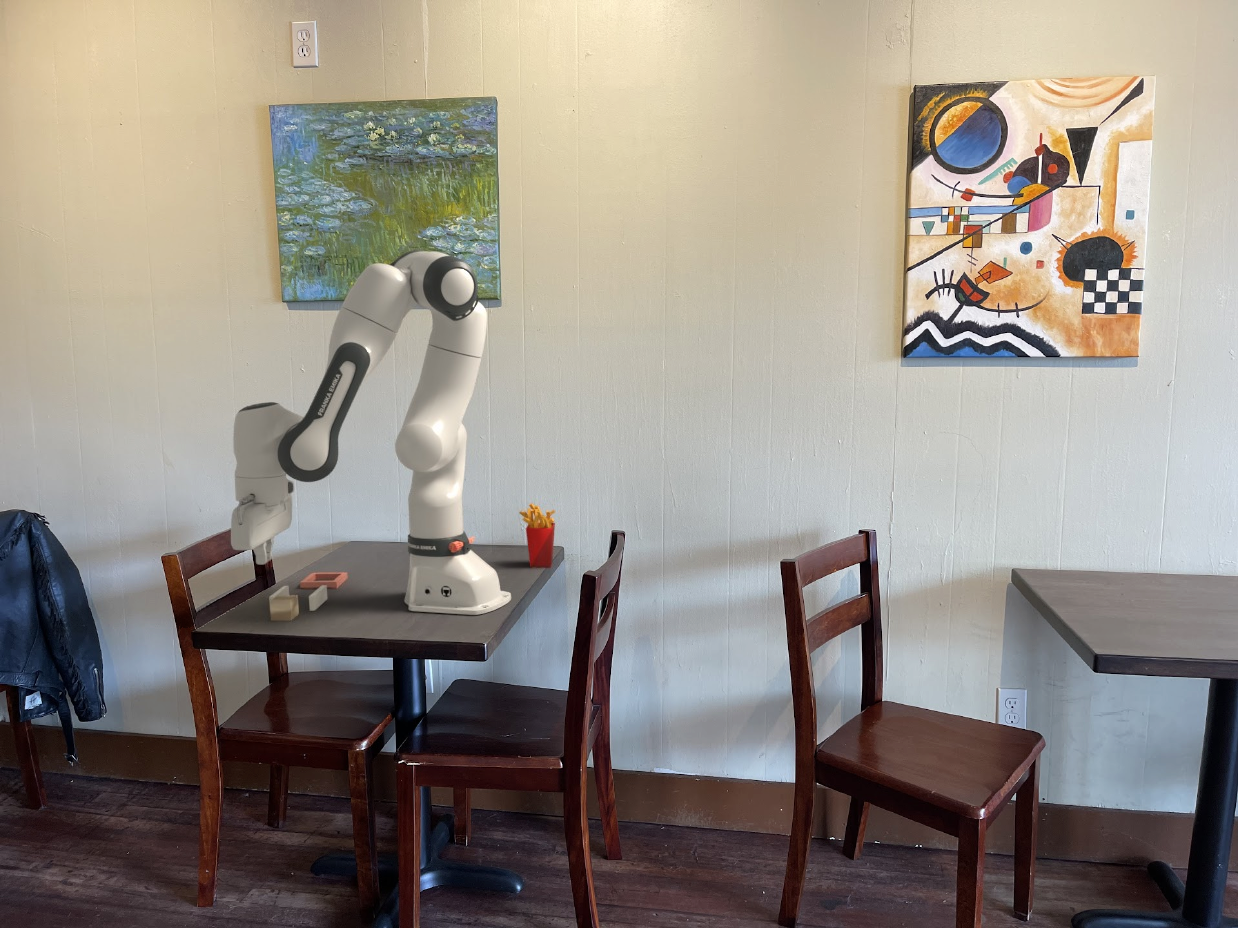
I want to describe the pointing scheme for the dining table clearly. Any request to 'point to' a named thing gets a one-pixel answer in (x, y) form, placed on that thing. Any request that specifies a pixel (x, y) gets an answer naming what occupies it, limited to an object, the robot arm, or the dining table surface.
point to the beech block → (284, 607)
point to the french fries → (539, 536)
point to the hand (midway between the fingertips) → (263, 562)
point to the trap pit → (323, 580)
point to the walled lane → (314, 598)
